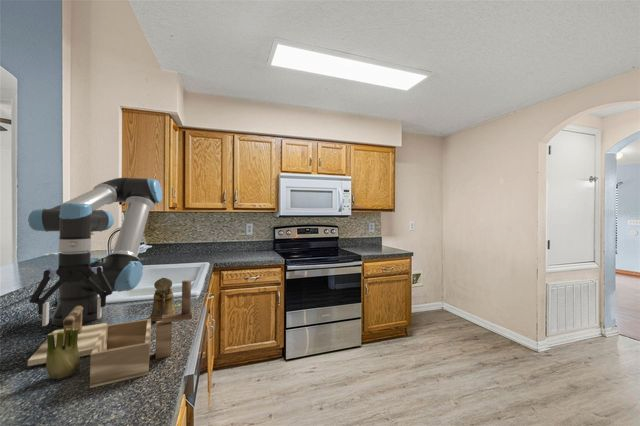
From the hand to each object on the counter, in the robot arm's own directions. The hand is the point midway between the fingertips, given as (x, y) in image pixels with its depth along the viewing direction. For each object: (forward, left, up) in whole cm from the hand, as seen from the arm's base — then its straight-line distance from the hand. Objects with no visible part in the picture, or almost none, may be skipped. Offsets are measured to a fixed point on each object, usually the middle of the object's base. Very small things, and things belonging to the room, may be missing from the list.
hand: (73, 320), depth 87 cm
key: (-25, +28, -9) cm, 38 cm away
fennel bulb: (+20, +2, -8) cm, 21 cm away
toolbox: (+19, +18, -8) cm, 27 cm away
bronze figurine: (-12, +25, -8) cm, 29 cm away
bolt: (+19, +28, +2) cm, 34 cm away
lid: (0, 0, -7) cm, 7 cm away
